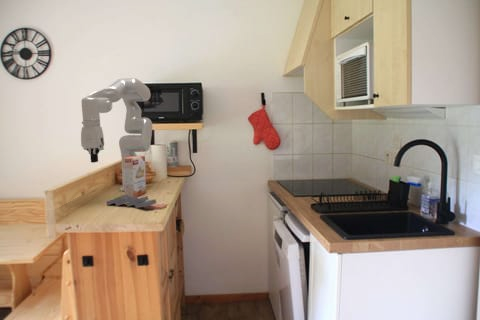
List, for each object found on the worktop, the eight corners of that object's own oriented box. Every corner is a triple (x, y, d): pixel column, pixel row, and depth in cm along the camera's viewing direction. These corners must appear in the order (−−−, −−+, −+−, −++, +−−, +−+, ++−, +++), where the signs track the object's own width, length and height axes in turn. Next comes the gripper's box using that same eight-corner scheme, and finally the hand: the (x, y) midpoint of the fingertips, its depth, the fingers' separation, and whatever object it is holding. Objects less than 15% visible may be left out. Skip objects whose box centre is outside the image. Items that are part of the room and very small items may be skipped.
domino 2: (115, 202, 171) (130, 197, 168) (121, 200, 175) (136, 195, 172) (116, 206, 171) (131, 201, 168) (122, 203, 175) (137, 199, 172)
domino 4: (134, 204, 166) (146, 202, 160) (143, 201, 170) (155, 199, 164) (136, 208, 166) (147, 206, 160) (144, 204, 170) (156, 203, 164)
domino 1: (106, 201, 172) (120, 196, 169) (112, 199, 177) (127, 194, 174) (107, 205, 172) (122, 200, 169) (114, 203, 177) (128, 197, 174)
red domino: (143, 206, 166) (161, 207, 163) (149, 203, 170) (166, 204, 168) (143, 210, 166) (161, 211, 163) (149, 207, 171) (166, 208, 168)
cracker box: (134, 198, 188) (133, 158, 186) (123, 197, 189) (122, 157, 187) (146, 193, 202) (145, 155, 200) (136, 192, 203) (135, 155, 201)
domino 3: (126, 203, 169) (140, 198, 165) (133, 200, 174) (147, 195, 170) (127, 206, 169) (141, 202, 165) (134, 204, 173) (148, 199, 170)
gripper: (73, 124, 172) (76, 162, 175) (99, 124, 167) (102, 163, 170) (84, 123, 179) (87, 160, 182) (110, 123, 175) (112, 161, 177)
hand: (94, 162), depth 176 cm, fingers closed
